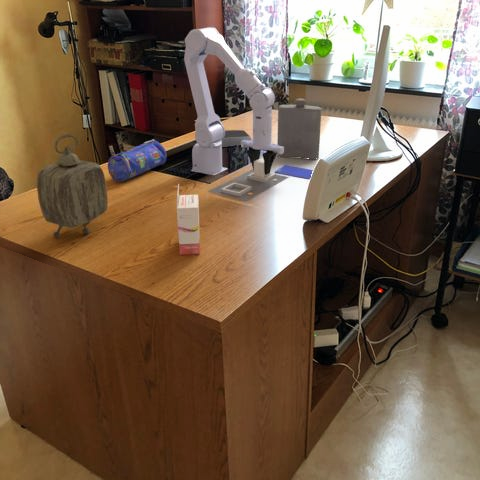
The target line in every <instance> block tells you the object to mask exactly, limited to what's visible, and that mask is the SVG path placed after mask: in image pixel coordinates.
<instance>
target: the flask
mask: <svg viewBox="0 0 480 480" xmlns="http://www.w3.org/2000/svg"><path fill="white" fill-rule="evenodd" d="M306 102H307V101H306V99H304V98H296V99H295V100H294V104H280V105H278V107H277V144H276V145H279V146H282V147H284V153H283V154H277V155H276V156H278V157H279V156H280V157H279V158H291V157H301V158H300V159H303V158H309V159H308V160H310V159H315V160H317V159H316V158H318V159H319V157H320V140H321V123H322V107H320V106H316V105H306Z"/></svg>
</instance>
